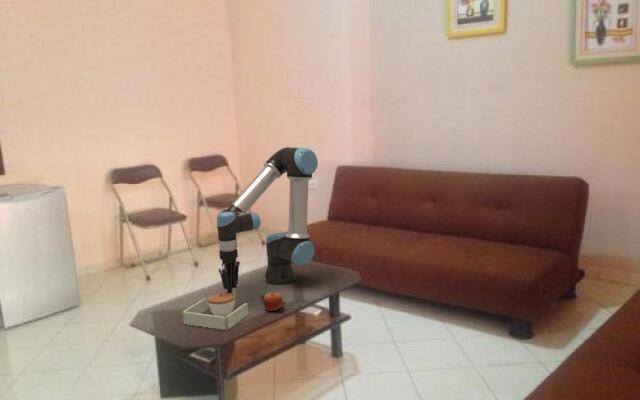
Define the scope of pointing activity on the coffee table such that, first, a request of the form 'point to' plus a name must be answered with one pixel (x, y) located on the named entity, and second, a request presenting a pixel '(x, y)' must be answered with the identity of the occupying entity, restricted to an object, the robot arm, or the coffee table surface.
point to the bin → (212, 316)
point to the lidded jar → (221, 304)
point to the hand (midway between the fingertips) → (232, 302)
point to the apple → (272, 301)
